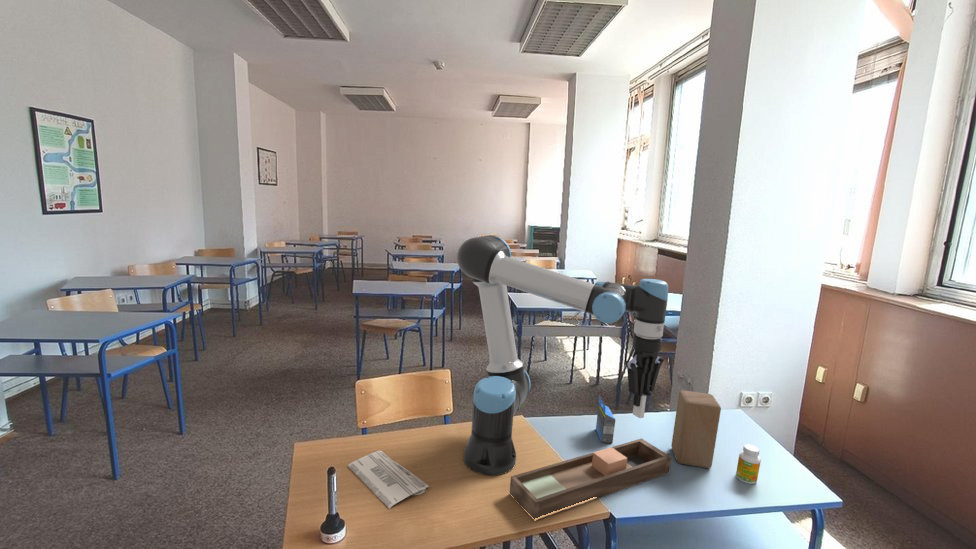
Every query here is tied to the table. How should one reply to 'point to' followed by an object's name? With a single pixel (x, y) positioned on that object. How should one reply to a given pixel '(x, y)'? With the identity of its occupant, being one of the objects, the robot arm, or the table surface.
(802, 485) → the table surface
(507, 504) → the table surface
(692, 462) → the block
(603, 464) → the clay block
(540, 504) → the channel
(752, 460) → the supplement bottle
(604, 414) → the blue retail box
